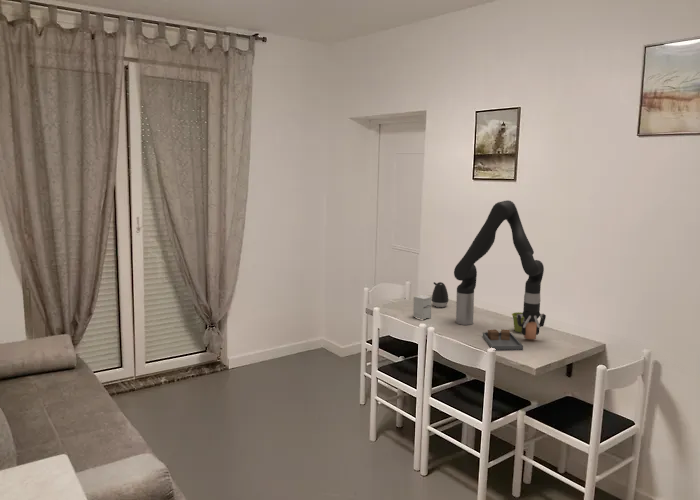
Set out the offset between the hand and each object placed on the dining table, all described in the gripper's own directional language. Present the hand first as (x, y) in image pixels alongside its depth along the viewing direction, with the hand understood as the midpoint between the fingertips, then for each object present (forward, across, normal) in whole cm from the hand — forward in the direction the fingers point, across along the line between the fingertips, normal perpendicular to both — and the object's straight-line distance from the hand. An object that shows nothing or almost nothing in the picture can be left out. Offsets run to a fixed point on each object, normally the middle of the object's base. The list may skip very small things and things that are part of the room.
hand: (530, 334), depth 259 cm
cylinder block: (+2, 0, 0) cm, 2 cm away
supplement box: (+4, +48, -39) cm, 62 cm away
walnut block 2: (+2, +12, -1) cm, 12 cm away
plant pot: (+3, 0, -15) cm, 15 cm away
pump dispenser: (+4, +34, -64) cm, 72 cm away
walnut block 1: (+2, +18, -1) cm, 18 cm away
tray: (+3, +15, +4) cm, 16 cm away
